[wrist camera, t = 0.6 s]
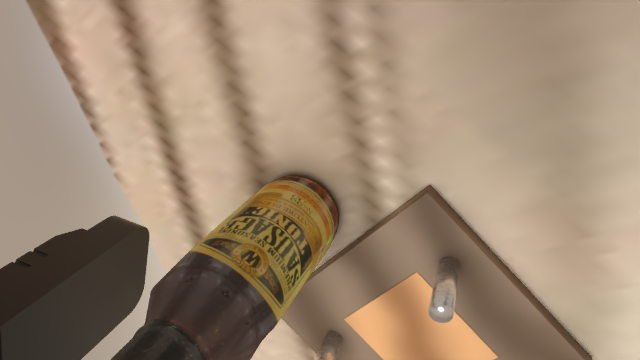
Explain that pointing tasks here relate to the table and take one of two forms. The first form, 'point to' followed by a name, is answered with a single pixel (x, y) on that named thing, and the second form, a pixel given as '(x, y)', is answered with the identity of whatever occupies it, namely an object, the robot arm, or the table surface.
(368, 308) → the board
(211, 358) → the sauce bottle
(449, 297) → the metal pins
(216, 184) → the table surface
